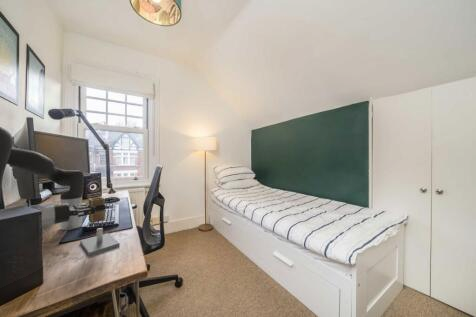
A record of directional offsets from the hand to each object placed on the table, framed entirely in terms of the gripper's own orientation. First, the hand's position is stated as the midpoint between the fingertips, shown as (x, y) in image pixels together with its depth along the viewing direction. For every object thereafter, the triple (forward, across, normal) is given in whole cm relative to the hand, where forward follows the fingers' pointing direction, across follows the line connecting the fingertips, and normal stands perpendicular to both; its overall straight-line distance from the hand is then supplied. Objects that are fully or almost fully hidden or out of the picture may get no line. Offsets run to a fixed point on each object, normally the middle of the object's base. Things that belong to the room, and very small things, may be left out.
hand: (103, 206), depth 86 cm
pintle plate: (-2, 0, +18) cm, 18 cm away
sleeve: (-3, 0, +6) cm, 7 cm away
